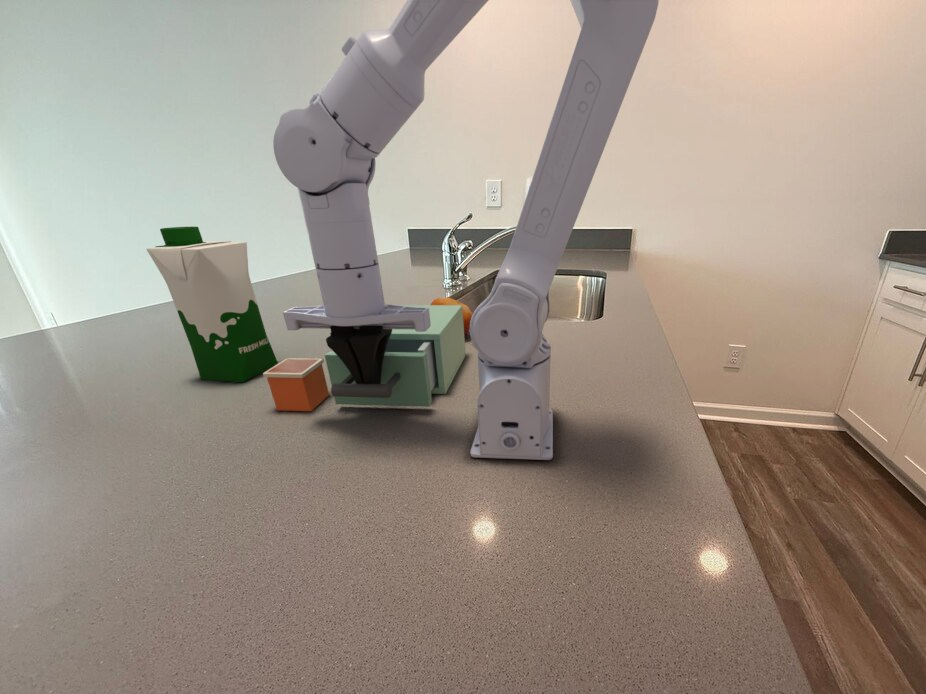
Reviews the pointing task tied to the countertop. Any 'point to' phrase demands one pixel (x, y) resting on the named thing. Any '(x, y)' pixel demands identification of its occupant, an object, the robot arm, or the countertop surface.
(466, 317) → the fruit
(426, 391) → the drawer
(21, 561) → the countertop surface
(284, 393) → the plastic tub
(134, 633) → the countertop surface
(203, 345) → the milk carton
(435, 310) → the green cabinet
